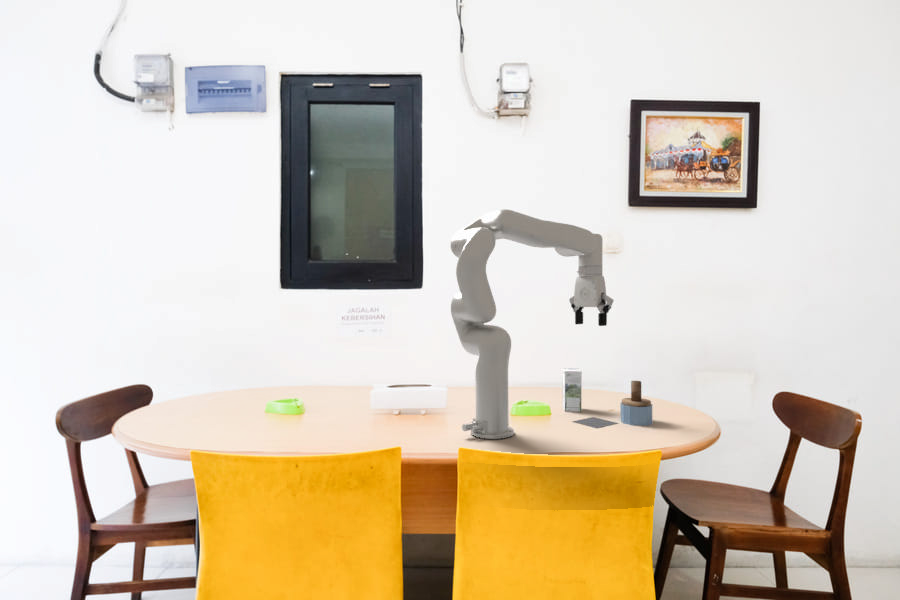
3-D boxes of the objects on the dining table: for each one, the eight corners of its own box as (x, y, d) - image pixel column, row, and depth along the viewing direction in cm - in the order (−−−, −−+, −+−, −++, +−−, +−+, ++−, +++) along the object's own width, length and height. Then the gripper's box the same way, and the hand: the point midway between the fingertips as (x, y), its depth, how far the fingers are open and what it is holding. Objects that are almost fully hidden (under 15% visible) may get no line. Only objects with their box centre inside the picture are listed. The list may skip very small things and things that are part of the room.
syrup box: (579, 409, 185) (579, 367, 184) (581, 413, 179) (581, 370, 179) (562, 408, 185) (562, 367, 185) (564, 412, 179) (564, 370, 179)
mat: (597, 429, 158) (597, 428, 158) (571, 422, 166) (571, 421, 166) (618, 424, 164) (618, 423, 164) (593, 418, 172) (593, 416, 172)
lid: (639, 408, 159) (639, 385, 159) (615, 403, 166) (615, 381, 166) (656, 404, 164) (656, 381, 164) (633, 399, 171) (633, 378, 171)
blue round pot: (639, 428, 159) (639, 408, 159) (614, 422, 167) (614, 403, 166) (658, 423, 164) (658, 404, 164) (633, 417, 172) (633, 399, 172)
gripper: (562, 272, 177) (562, 324, 177) (604, 271, 162) (604, 326, 163) (578, 273, 181) (578, 323, 181) (620, 271, 167) (620, 325, 167)
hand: (590, 324), depth 172 cm, fingers open, 9 cm apart
